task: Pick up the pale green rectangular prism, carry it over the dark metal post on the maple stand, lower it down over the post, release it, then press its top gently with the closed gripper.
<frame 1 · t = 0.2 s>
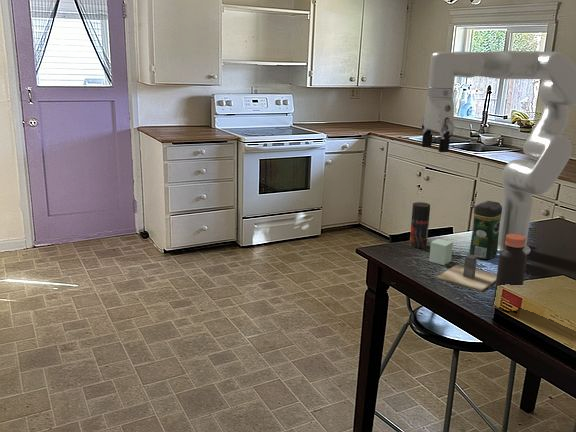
hand: (434, 149, 175), 36 cm above the table, tool pointing down, fingers open, 9 cm apart
post stand: (468, 278, 169), on the table
deodorant: (418, 245, 197), on the table
pale green rectangular prism: (440, 261, 183), on the table
bottle: (506, 307, 151), on the table
coffee jar: (482, 256, 188), on the table
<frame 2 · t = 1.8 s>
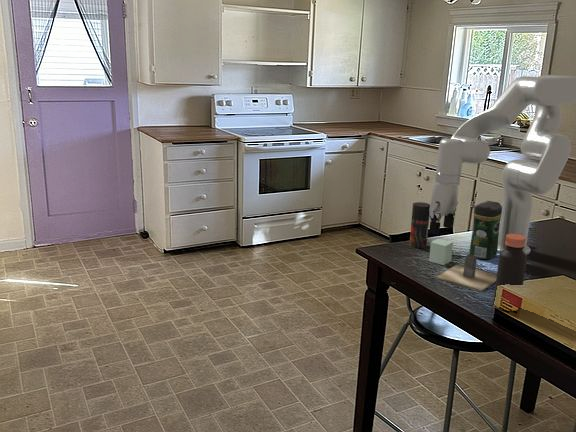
hand: (441, 230, 179), 11 cm above the table, tool pointing down, fingers open, 9 cm apart
nothing on the table moved.
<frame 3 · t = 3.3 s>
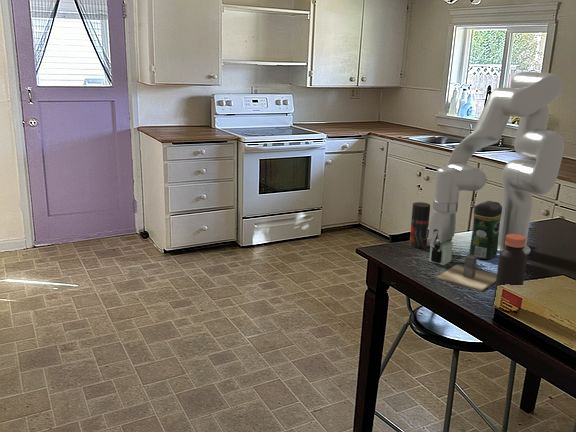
hand: (440, 259, 182), 1 cm above the table, tool pointing down, fingers closed on pale green rectangular prism, 5 cm apart
pale green rectangular prism: (439, 261, 183), on the table, touching gripper
everything else where it was.
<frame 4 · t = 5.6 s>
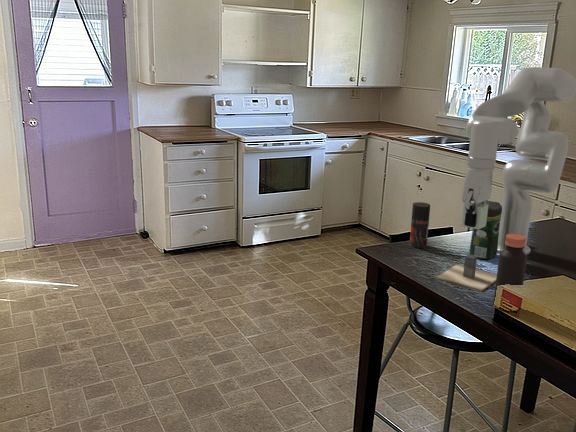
hand: (474, 223, 165), 17 cm above the table, tool pointing down, fingers closed on pale green rectangular prism, 5 cm apart
pale green rectangular prism: (473, 225, 165), point 17 cm above the table, touching gripper
everything else where it was.
when the fingers open (3 cm above the table, at t = 8.2 s): pale green rectangular prism drops 1 cm, resting on post stand.
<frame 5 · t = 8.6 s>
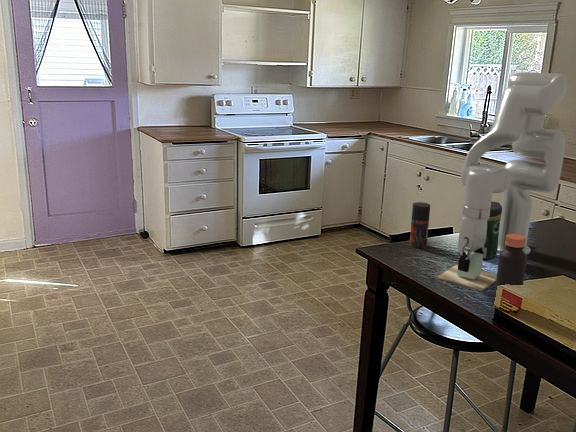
hand: (470, 266, 168), 4 cm above the table, tool pointing down, fingers open, 9 cm apart
pale green rectangular prism: (468, 274, 169), point 1 cm above the table, touching post stand
everything else where it was.
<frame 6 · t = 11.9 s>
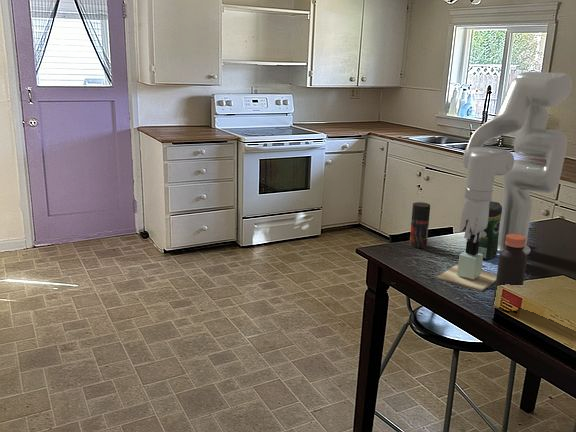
hand: (471, 253, 167), 8 cm above the table, tool pointing down, fingers closed
nothing on the table moved.
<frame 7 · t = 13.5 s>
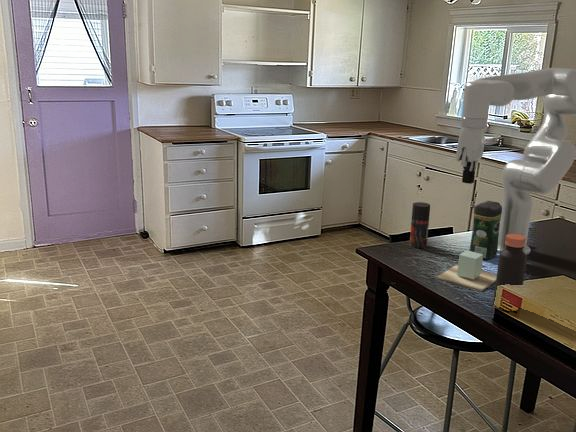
hand: (467, 182, 174), 27 cm above the table, tool pointing down, fingers closed
nothing on the table moved.
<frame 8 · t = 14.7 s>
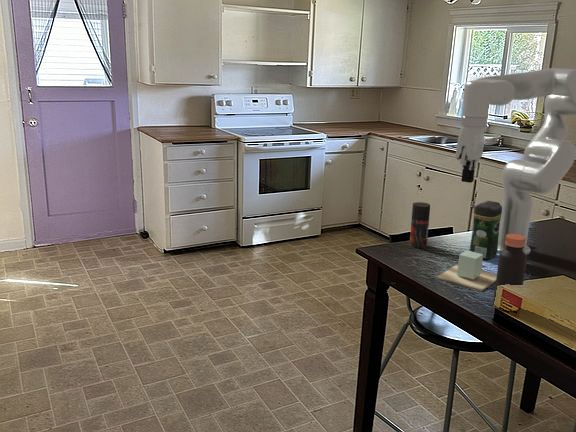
hand: (467, 181, 174), 27 cm above the table, tool pointing down, fingers closed
nothing on the table moved.
at the end: pale green rectangular prism 0.1 cm from the post stand (horizontally); pale green rectangular prism point 1.0 cm above the table; pale green rectangular prism tilted 0° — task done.
